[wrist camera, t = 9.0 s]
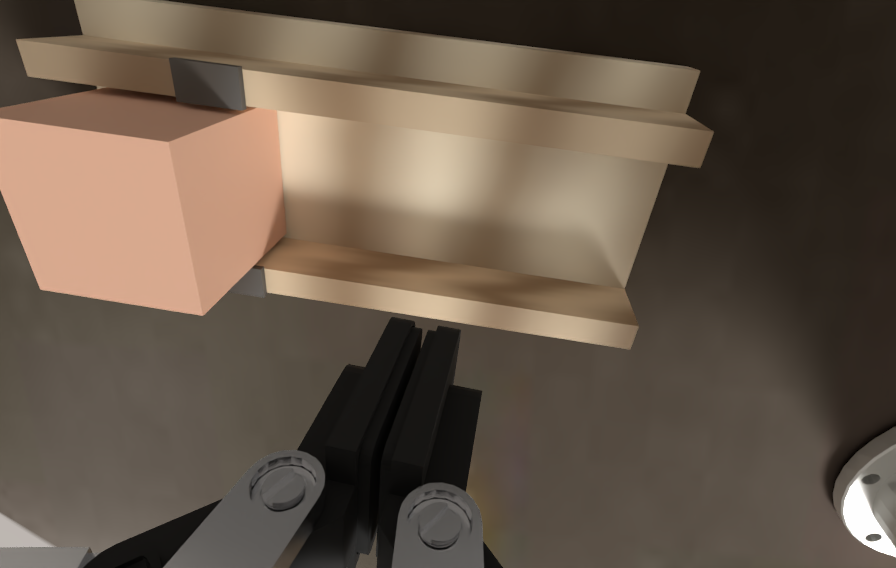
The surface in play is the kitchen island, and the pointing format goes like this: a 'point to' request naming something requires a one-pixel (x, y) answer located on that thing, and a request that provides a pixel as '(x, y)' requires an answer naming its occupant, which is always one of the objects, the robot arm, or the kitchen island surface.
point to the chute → (421, 157)
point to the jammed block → (141, 195)
